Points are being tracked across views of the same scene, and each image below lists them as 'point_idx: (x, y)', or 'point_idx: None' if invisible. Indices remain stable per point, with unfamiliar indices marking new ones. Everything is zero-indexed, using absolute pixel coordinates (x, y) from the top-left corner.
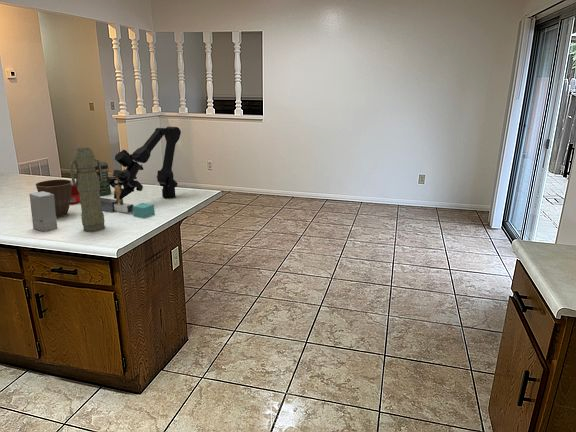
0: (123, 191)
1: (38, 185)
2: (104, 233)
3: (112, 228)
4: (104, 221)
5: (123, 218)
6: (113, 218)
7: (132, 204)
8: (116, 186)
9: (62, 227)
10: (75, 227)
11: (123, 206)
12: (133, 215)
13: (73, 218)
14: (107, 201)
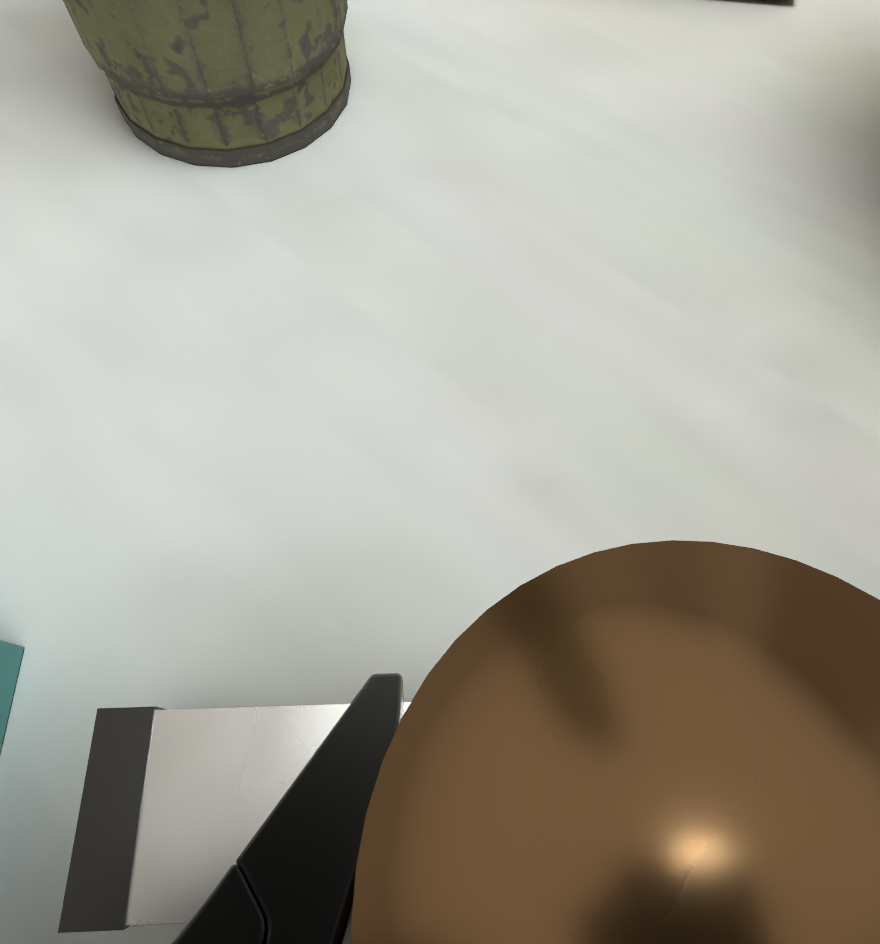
0: (230, 913)
1: None
2: (16, 36)
3: (25, 148)
4: (95, 59)
5: (139, 484)
6: (299, 421)
7: (94, 919)
8: (573, 572)
9: (584, 13)
10: (462, 48)
11: (296, 709)
12: (8, 644)
13: (808, 218)
14: None
